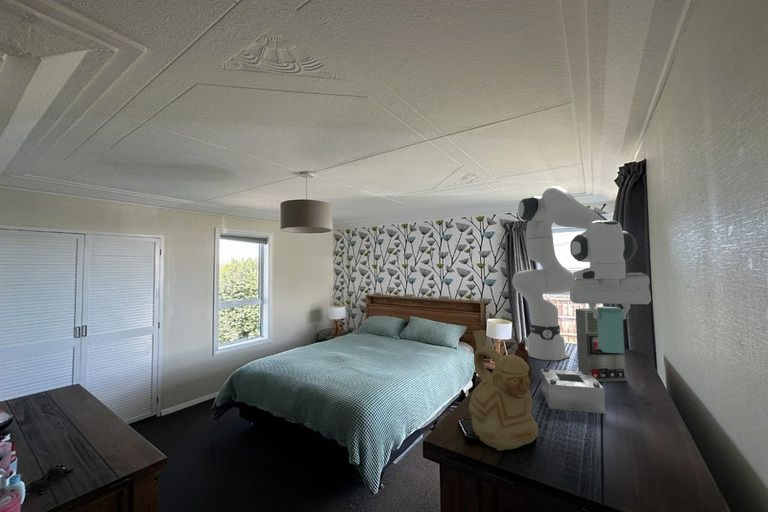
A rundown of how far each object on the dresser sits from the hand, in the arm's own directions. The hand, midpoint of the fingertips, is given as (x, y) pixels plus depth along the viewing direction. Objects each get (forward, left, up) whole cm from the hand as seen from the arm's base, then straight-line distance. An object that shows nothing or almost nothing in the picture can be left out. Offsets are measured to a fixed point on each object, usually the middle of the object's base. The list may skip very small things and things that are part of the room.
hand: (609, 318), depth 96 cm
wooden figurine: (-13, -24, -25) cm, 37 cm away
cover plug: (0, 0, -10) cm, 10 cm away
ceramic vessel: (+28, -33, -25) cm, 50 cm away
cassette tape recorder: (-20, +3, -25) cm, 32 cm away
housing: (+2, -12, -25) cm, 28 cm away
